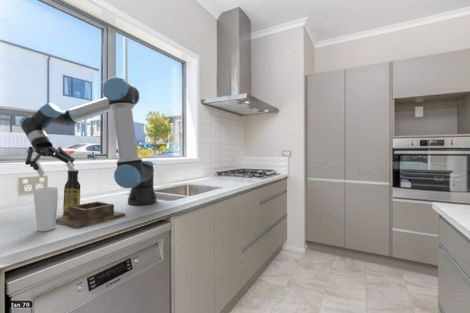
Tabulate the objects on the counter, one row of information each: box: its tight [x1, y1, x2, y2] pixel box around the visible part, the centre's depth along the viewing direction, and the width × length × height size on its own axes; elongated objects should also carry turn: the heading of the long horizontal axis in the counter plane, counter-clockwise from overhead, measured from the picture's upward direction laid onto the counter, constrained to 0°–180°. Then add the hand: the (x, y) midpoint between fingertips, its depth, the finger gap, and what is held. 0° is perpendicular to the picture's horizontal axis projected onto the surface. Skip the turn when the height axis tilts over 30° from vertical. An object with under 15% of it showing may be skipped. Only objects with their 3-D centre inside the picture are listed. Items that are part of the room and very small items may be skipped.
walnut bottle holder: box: [56, 201, 126, 229], centre depth 101 cm, size 20×16×6 cm
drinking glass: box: [33, 186, 59, 232], centre depth 87 cm, size 7×7×15 cm
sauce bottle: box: [62, 169, 81, 216], centre depth 109 cm, size 6×6×20 cm
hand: (59, 173), depth 112 cm, fingers open, 13 cm apart
